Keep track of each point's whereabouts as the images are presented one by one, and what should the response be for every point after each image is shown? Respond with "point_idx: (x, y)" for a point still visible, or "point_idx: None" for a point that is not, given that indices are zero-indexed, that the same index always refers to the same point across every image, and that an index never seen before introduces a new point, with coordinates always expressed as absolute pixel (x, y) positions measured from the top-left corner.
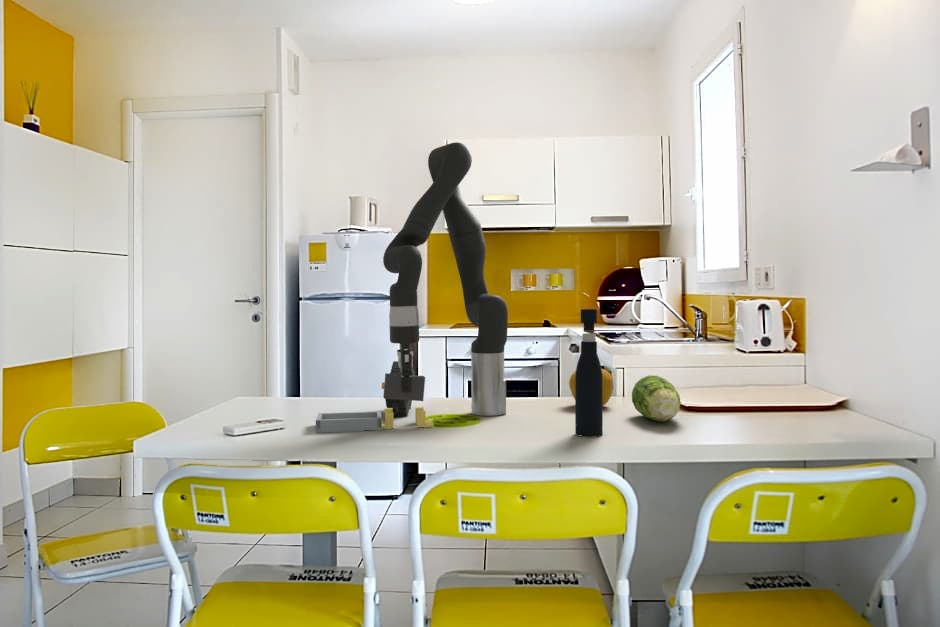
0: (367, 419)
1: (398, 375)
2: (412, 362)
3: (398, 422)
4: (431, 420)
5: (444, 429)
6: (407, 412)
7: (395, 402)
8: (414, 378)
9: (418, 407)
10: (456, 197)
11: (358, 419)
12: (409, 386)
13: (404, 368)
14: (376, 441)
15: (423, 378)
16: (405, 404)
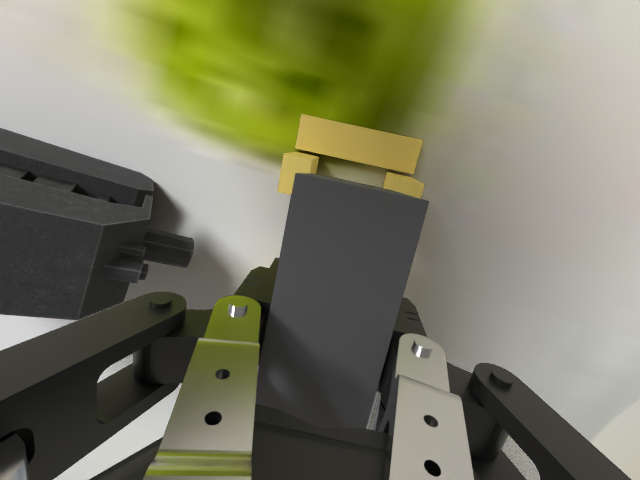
0: (375, 399)
1: (338, 417)
2: (465, 440)
3: (263, 242)
4: (319, 119)
5: (480, 109)
6: (132, 175)
7: (145, 252)
8: (398, 293)
9: (285, 178)
10: None
11: (368, 425)
12: (416, 313)
13: (182, 362)
14: (548, 387)
15: (423, 216)
16: (148, 202)
